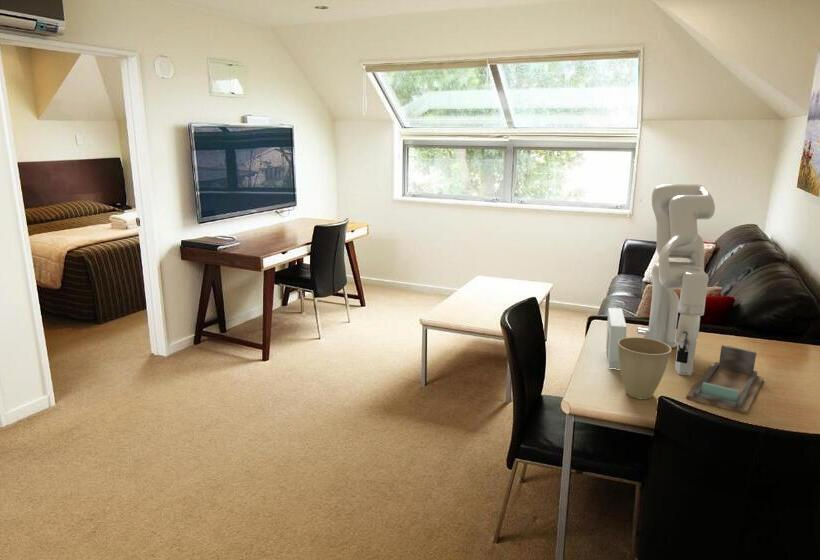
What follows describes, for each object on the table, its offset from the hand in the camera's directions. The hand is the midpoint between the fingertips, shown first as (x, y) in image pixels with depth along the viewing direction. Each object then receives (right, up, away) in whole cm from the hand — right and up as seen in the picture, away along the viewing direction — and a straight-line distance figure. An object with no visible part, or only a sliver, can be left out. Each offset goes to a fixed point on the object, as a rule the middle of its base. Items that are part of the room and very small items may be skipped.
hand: (685, 358), depth 191 cm
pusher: (0, -9, -20) cm, 22 cm away
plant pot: (-21, -9, -15) cm, 28 cm away
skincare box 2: (0, -5, +2) cm, 5 cm away
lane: (+7, -8, -11) cm, 16 cm away
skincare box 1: (-19, -2, +13) cm, 23 cm away
